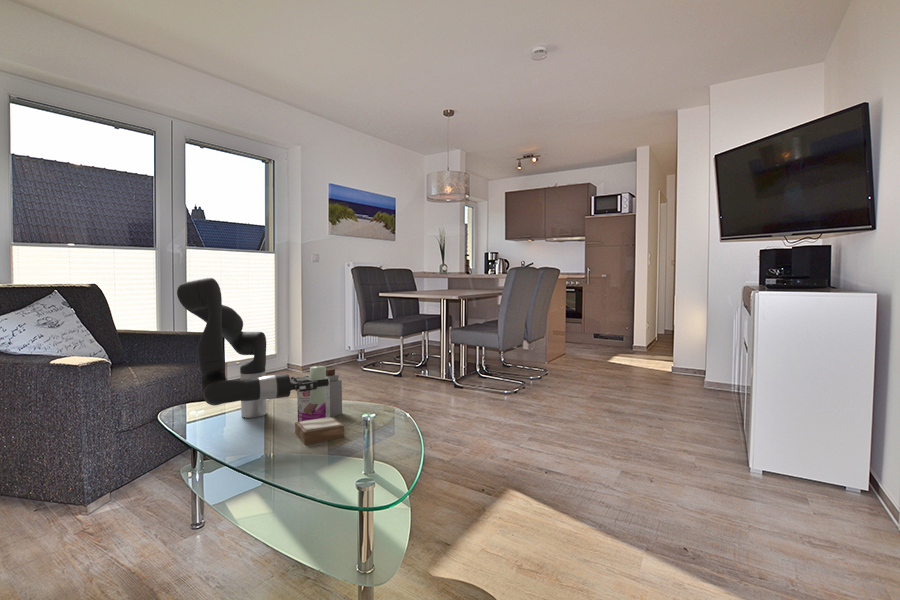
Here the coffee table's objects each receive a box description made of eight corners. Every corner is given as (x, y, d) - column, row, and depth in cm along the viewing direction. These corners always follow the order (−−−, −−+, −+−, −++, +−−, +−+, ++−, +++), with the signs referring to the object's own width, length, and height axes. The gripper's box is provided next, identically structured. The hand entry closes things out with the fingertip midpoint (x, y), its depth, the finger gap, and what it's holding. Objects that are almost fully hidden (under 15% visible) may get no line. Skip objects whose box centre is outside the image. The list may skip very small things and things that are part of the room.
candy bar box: (297, 422, 170) (296, 379, 169) (302, 419, 174) (301, 376, 174) (326, 423, 168) (325, 379, 168) (330, 419, 173) (330, 376, 173)
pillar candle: (308, 401, 155) (308, 363, 155) (323, 399, 158) (323, 362, 157) (312, 404, 150) (312, 365, 150) (328, 402, 153) (327, 364, 153)
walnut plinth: (295, 433, 157) (295, 421, 157) (332, 427, 163) (332, 415, 163) (304, 444, 146) (304, 431, 145) (344, 437, 152) (343, 424, 152)
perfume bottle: (334, 410, 186) (333, 367, 185) (342, 414, 181) (341, 369, 180) (318, 414, 181) (317, 369, 180) (326, 417, 176) (325, 371, 175)
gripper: (277, 378, 140) (331, 373, 149) (269, 371, 152) (319, 366, 161) (278, 403, 140) (332, 395, 149) (269, 394, 153) (320, 387, 162)
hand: (325, 380), depth 155 cm, fingers closed on pillar candle, 5 cm apart
